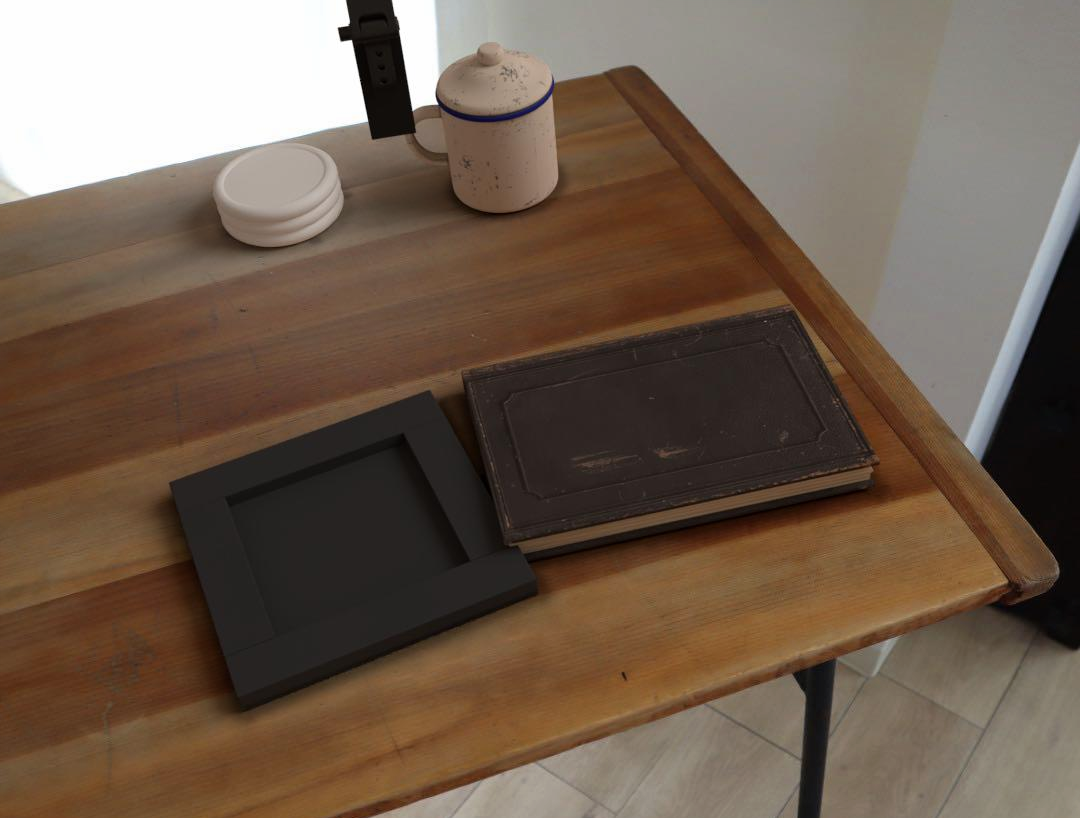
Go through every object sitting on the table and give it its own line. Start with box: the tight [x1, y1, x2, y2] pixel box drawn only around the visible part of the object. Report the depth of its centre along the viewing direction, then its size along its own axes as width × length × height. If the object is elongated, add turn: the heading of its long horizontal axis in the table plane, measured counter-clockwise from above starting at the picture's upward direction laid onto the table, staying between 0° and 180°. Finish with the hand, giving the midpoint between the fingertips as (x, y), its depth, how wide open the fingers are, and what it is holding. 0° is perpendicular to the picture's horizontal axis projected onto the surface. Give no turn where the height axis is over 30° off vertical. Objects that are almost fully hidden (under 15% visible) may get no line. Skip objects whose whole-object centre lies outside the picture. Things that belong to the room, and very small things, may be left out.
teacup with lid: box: [403, 41, 559, 214], centre depth 92 cm, size 12×9×12 cm
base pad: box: [168, 389, 540, 712], centre depth 72 cm, size 18×18×2 cm
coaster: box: [212, 142, 345, 248], centre depth 95 cm, size 10×10×4 cm
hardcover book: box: [460, 303, 881, 562], centre depth 76 cm, size 16×23×2 cm
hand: (384, 76), depth 75 cm, fingers open, 13 cm apart
